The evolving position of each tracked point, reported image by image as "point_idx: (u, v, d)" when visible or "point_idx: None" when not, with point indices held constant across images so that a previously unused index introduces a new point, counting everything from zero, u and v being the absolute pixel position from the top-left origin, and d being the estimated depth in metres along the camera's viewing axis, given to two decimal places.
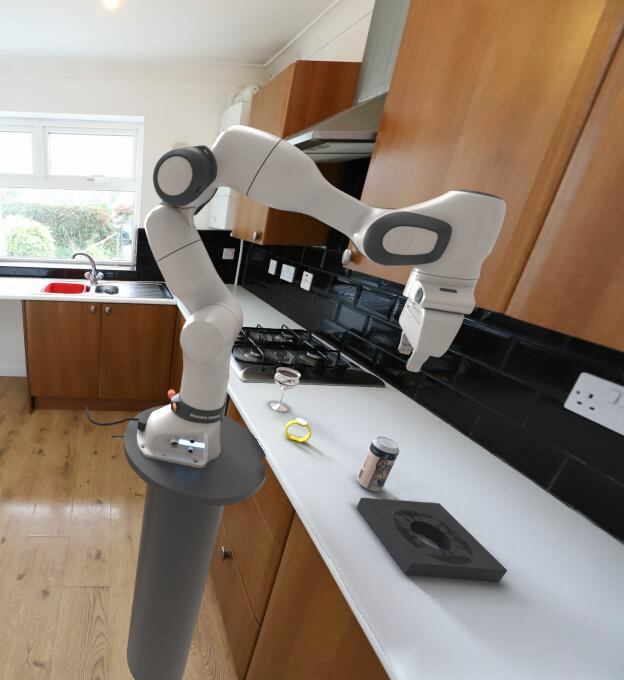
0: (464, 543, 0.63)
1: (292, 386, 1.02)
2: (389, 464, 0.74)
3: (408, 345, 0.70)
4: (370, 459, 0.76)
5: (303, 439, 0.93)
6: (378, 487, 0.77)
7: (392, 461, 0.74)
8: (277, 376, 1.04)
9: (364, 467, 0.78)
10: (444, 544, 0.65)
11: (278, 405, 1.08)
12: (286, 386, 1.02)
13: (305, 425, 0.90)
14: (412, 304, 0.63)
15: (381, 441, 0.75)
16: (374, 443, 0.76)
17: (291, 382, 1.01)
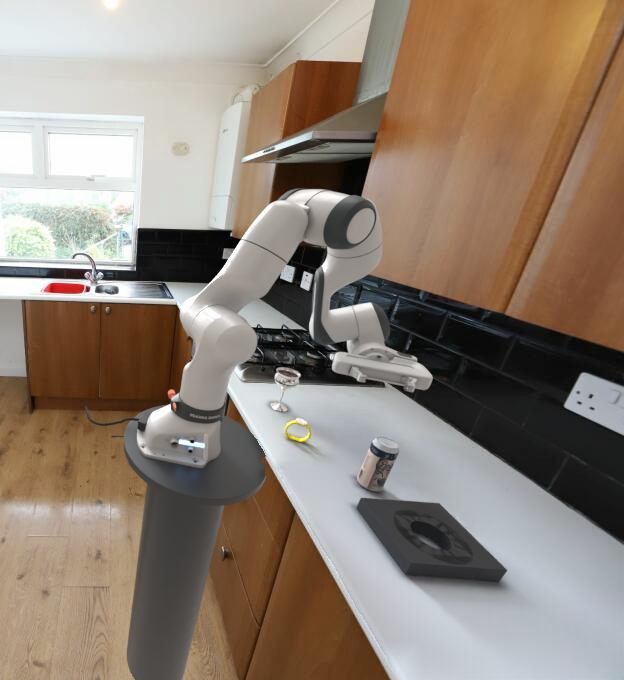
0: (464, 543, 0.63)
1: (292, 386, 1.02)
2: (389, 464, 0.74)
3: None
4: (370, 459, 0.76)
5: (303, 439, 0.93)
6: (378, 487, 0.77)
7: (392, 461, 0.74)
8: (277, 376, 1.04)
9: (364, 467, 0.78)
10: (444, 544, 0.65)
11: (278, 405, 1.08)
12: (286, 386, 1.02)
13: (305, 425, 0.90)
14: (385, 356, 0.90)
15: (381, 441, 0.75)
16: (374, 443, 0.76)
17: (291, 382, 1.01)
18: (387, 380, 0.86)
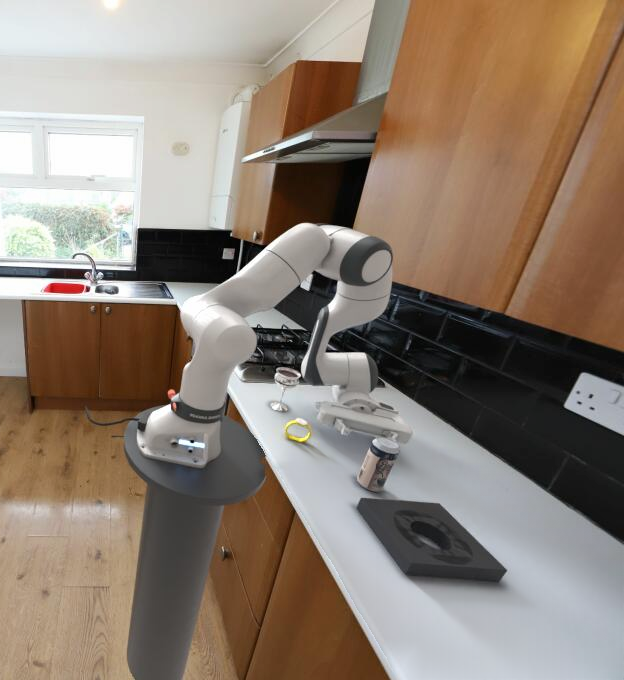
0: (464, 543, 0.63)
1: (292, 386, 1.02)
2: (389, 464, 0.74)
3: None
4: (370, 459, 0.76)
5: (303, 439, 0.93)
6: (378, 487, 0.77)
7: (392, 461, 0.74)
8: (277, 376, 1.04)
9: (364, 467, 0.78)
10: (444, 544, 0.65)
11: (278, 405, 1.08)
12: (286, 386, 1.02)
13: (305, 425, 0.90)
14: (368, 407, 0.93)
15: (381, 441, 0.75)
16: (374, 443, 0.76)
17: (291, 382, 1.01)
18: (370, 433, 0.89)
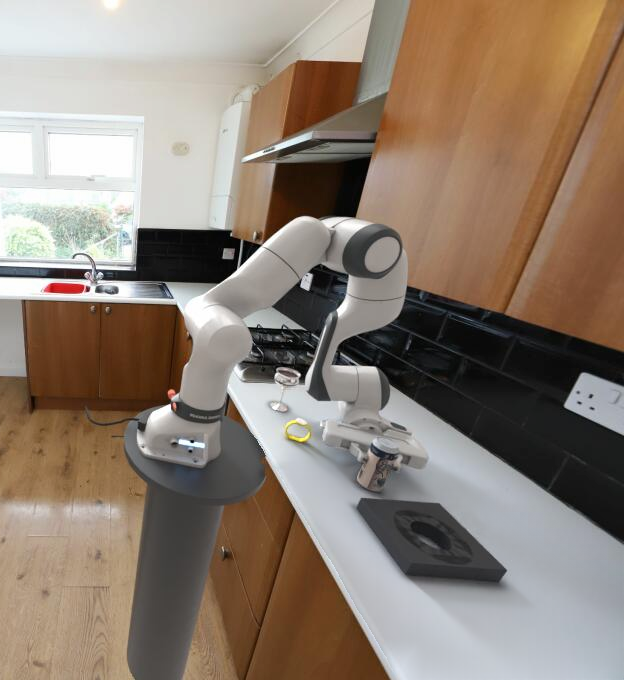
0: (464, 543, 0.63)
1: (292, 386, 1.02)
2: (389, 464, 0.74)
3: None
4: (370, 459, 0.76)
5: (303, 439, 0.93)
6: (378, 487, 0.77)
7: (392, 461, 0.74)
8: (277, 376, 1.04)
9: (364, 467, 0.78)
10: (444, 544, 0.65)
11: (278, 405, 1.08)
12: (286, 386, 1.02)
13: (305, 425, 0.90)
14: (378, 428, 0.84)
15: (381, 441, 0.75)
16: (374, 443, 0.76)
17: (291, 382, 1.01)
18: None
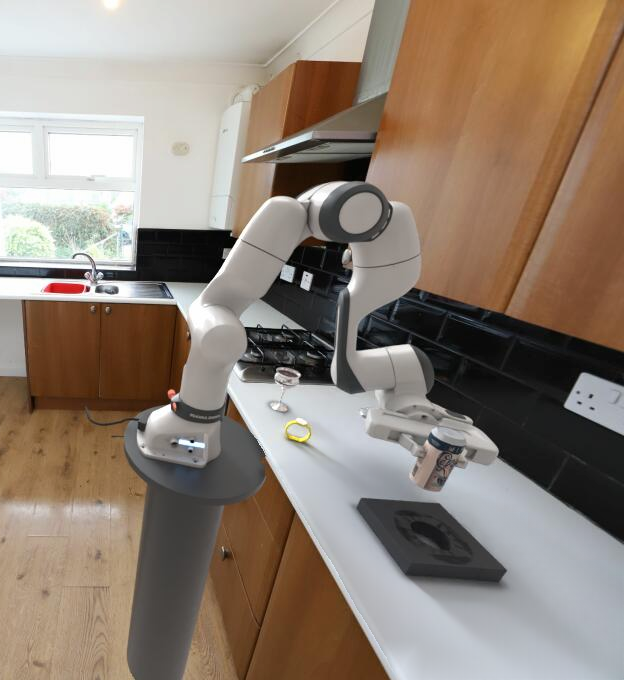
0: (464, 543, 0.63)
1: (292, 386, 1.02)
2: (454, 459, 0.61)
3: None
4: (429, 453, 0.63)
5: (303, 439, 0.93)
6: (438, 487, 0.64)
7: (458, 455, 0.61)
8: (277, 376, 1.04)
9: (420, 463, 0.65)
10: (444, 544, 0.65)
11: (278, 405, 1.08)
12: (286, 386, 1.02)
13: (305, 425, 0.90)
14: (432, 416, 0.71)
15: (443, 431, 0.62)
16: (434, 433, 0.62)
17: (291, 382, 1.01)
18: None
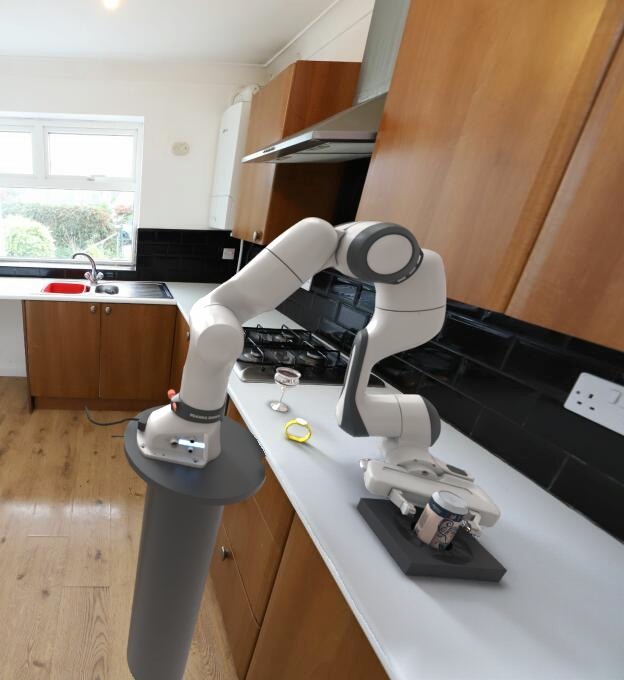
0: (464, 543, 0.63)
1: (292, 386, 1.02)
2: (455, 526, 0.60)
3: None
4: (430, 518, 0.63)
5: (303, 439, 0.93)
6: None
7: (459, 523, 0.60)
8: (277, 376, 1.04)
9: (421, 526, 0.64)
10: None
11: (278, 405, 1.08)
12: (286, 386, 1.02)
13: (305, 425, 0.90)
14: (433, 472, 0.70)
15: (444, 497, 0.61)
16: (435, 499, 0.62)
17: (291, 382, 1.01)
18: None
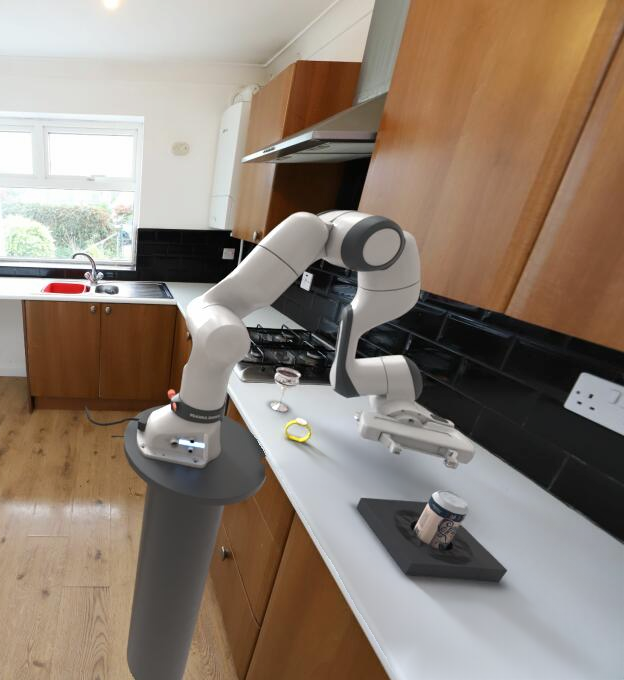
0: (464, 543, 0.63)
1: (292, 386, 1.02)
2: (455, 526, 0.60)
3: None
4: (430, 518, 0.63)
5: (303, 439, 0.93)
6: None
7: (459, 523, 0.60)
8: (277, 376, 1.04)
9: (421, 526, 0.64)
10: None
11: (278, 405, 1.08)
12: (286, 386, 1.02)
13: (305, 425, 0.90)
14: (418, 420, 0.80)
15: (444, 497, 0.61)
16: (435, 499, 0.62)
17: (291, 382, 1.01)
18: (422, 450, 0.76)
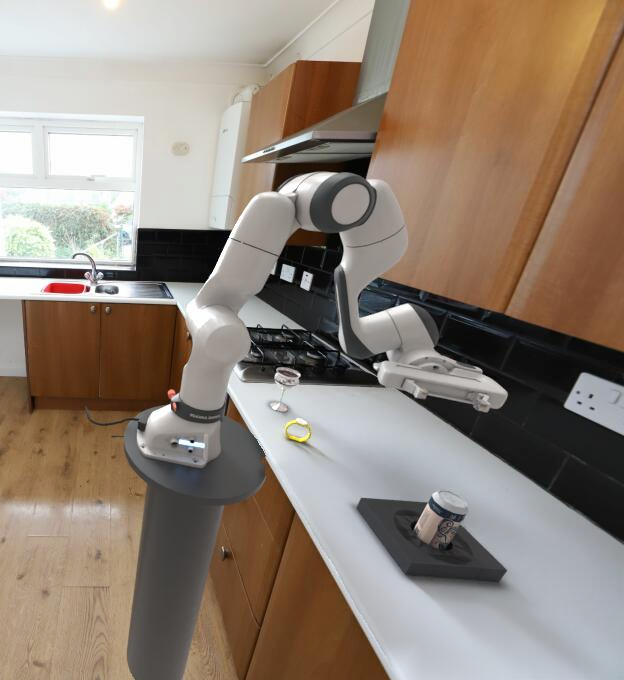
0: (464, 543, 0.63)
1: (292, 386, 1.02)
2: (455, 526, 0.60)
3: None
4: (430, 518, 0.62)
5: (303, 439, 0.93)
6: None
7: (459, 523, 0.60)
8: (277, 376, 1.04)
9: (421, 526, 0.64)
10: None
11: (278, 405, 1.08)
12: (286, 386, 1.02)
13: (305, 425, 0.90)
14: (443, 367, 0.74)
15: (444, 497, 0.61)
16: (435, 499, 0.62)
17: (291, 382, 1.01)
18: (449, 396, 0.71)
